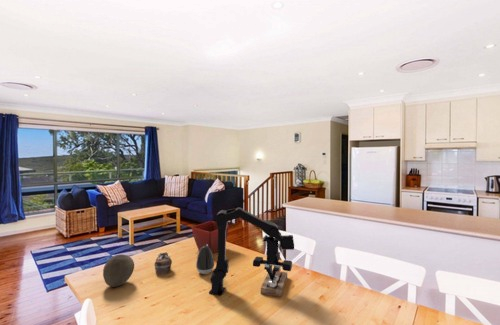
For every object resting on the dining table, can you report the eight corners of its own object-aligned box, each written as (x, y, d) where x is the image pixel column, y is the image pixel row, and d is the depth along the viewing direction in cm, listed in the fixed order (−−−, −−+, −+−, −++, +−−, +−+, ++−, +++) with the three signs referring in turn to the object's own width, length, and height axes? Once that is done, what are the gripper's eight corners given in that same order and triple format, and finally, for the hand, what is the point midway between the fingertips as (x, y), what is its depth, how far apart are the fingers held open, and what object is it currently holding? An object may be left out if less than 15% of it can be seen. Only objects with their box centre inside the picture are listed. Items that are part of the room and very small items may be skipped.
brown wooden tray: (281, 297, 116) (281, 291, 116) (260, 293, 119) (260, 287, 119) (287, 277, 135) (287, 272, 134) (269, 275, 138) (269, 269, 137)
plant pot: (210, 257, 161) (210, 232, 161) (191, 250, 173) (190, 226, 172) (229, 248, 177) (229, 225, 176) (211, 242, 188) (210, 220, 187)
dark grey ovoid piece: (216, 268, 146) (216, 242, 146) (211, 276, 136) (211, 249, 135) (199, 267, 147) (199, 242, 147) (193, 276, 137) (193, 249, 136)
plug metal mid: (277, 287, 124) (277, 278, 124) (270, 286, 126) (270, 277, 125) (279, 283, 128) (279, 274, 128) (271, 282, 129) (271, 273, 129)
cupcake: (152, 270, 144) (151, 253, 144) (168, 265, 150) (168, 249, 149) (157, 276, 136) (157, 259, 136) (174, 271, 142) (174, 254, 142)
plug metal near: (275, 293, 119) (275, 283, 119) (267, 291, 120) (267, 282, 120) (277, 288, 123) (277, 279, 123) (269, 287, 124) (269, 278, 124)
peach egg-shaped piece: (279, 279, 130) (279, 270, 129) (272, 278, 131) (272, 269, 131) (281, 275, 133) (281, 267, 133) (273, 274, 135) (273, 266, 134)
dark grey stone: (121, 293, 120) (120, 263, 120) (96, 290, 123) (95, 260, 123) (139, 278, 134) (139, 251, 134) (117, 276, 137) (116, 249, 137)
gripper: (293, 245, 126) (293, 275, 126) (258, 241, 131) (258, 270, 132) (290, 254, 115) (290, 286, 116) (252, 249, 121) (252, 280, 121)
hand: (272, 280), depth 122 cm, fingers closed
